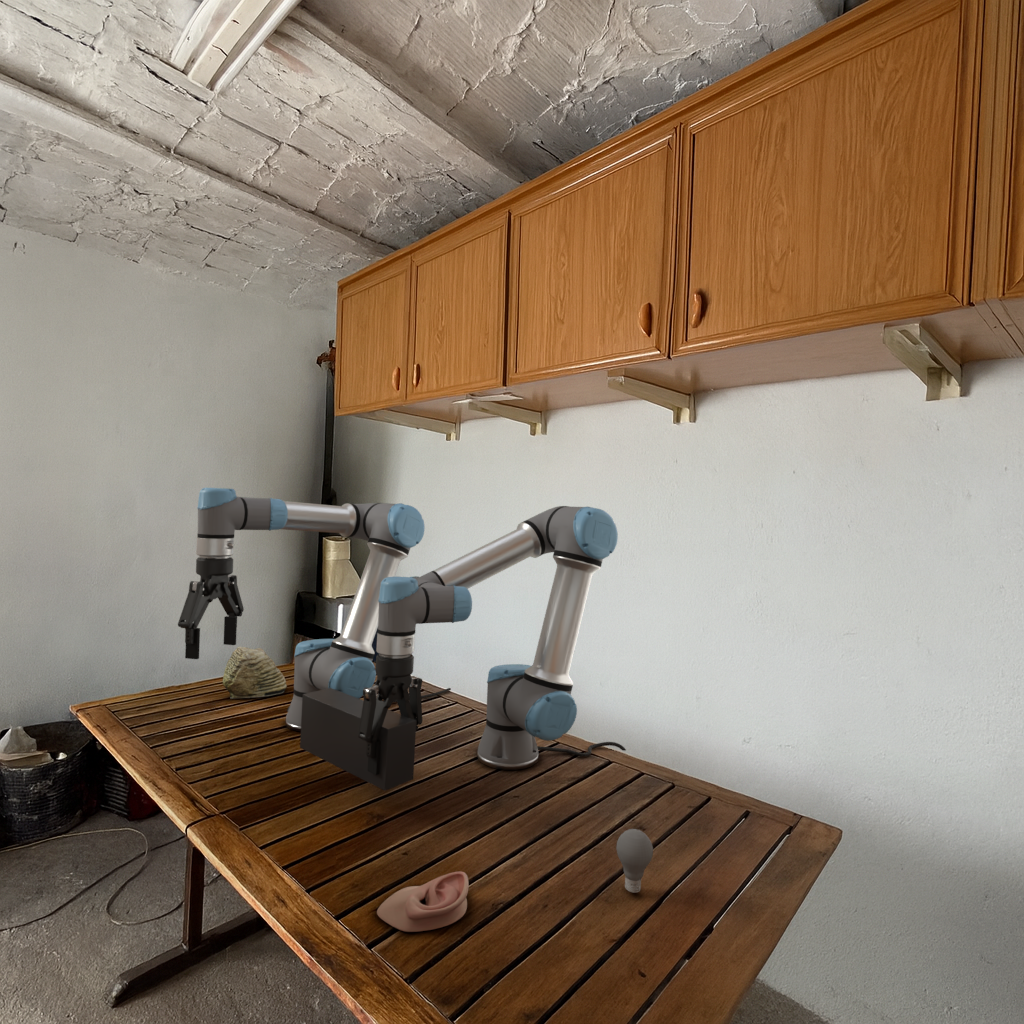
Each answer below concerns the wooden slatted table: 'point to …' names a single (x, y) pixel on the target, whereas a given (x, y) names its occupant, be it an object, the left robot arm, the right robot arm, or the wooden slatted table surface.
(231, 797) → the wooden slatted table surface
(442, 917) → the anatomical model
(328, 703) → the box
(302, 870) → the wooden slatted table surface
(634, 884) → the light bulb
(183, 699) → the wooden slatted table surface
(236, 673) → the fossil
